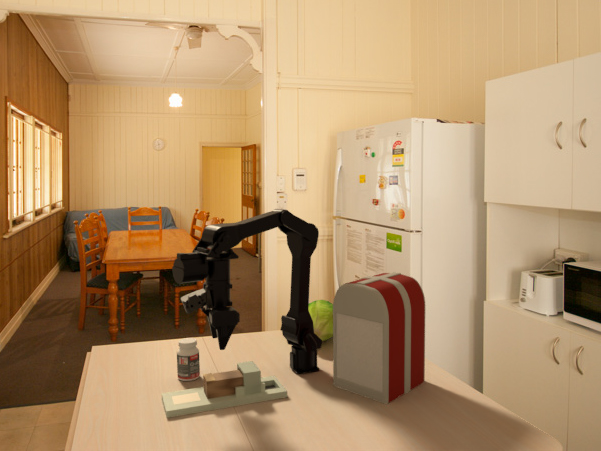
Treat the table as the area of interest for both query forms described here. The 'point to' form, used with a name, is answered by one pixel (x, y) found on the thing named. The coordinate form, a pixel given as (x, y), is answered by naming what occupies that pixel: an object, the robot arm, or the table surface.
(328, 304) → the lettuce
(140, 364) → the table surface
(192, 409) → the tunnel deck
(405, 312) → the red striped block
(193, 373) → the pill bottle
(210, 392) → the brown rectangular block
